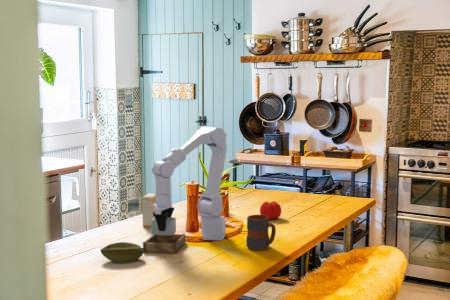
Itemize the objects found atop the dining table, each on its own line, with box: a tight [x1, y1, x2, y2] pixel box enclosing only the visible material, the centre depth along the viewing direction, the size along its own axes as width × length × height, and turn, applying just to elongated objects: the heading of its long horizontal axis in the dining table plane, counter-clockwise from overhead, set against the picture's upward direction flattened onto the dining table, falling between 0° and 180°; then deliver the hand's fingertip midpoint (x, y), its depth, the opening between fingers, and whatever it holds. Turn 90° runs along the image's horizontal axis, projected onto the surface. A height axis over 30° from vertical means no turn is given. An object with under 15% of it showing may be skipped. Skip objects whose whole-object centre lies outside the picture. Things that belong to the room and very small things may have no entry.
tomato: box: [259, 200, 282, 221], centre depth 265 cm, size 9×9×8 cm
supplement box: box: [141, 193, 156, 228], centre depth 256 cm, size 8×5×13 cm, turn 168°
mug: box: [246, 214, 277, 251], centre depth 220 cm, size 9×12×12 cm
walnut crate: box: [142, 233, 186, 255], centre depth 223 cm, size 12×13×4 cm
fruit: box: [100, 241, 145, 264], centre depth 208 cm, size 11×12×7 cm
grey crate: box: [150, 216, 177, 236], centre depth 222 cm, size 8×5×6 cm, turn 78°
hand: (164, 228), depth 222 cm, fingers closed on grey crate, 5 cm apart
